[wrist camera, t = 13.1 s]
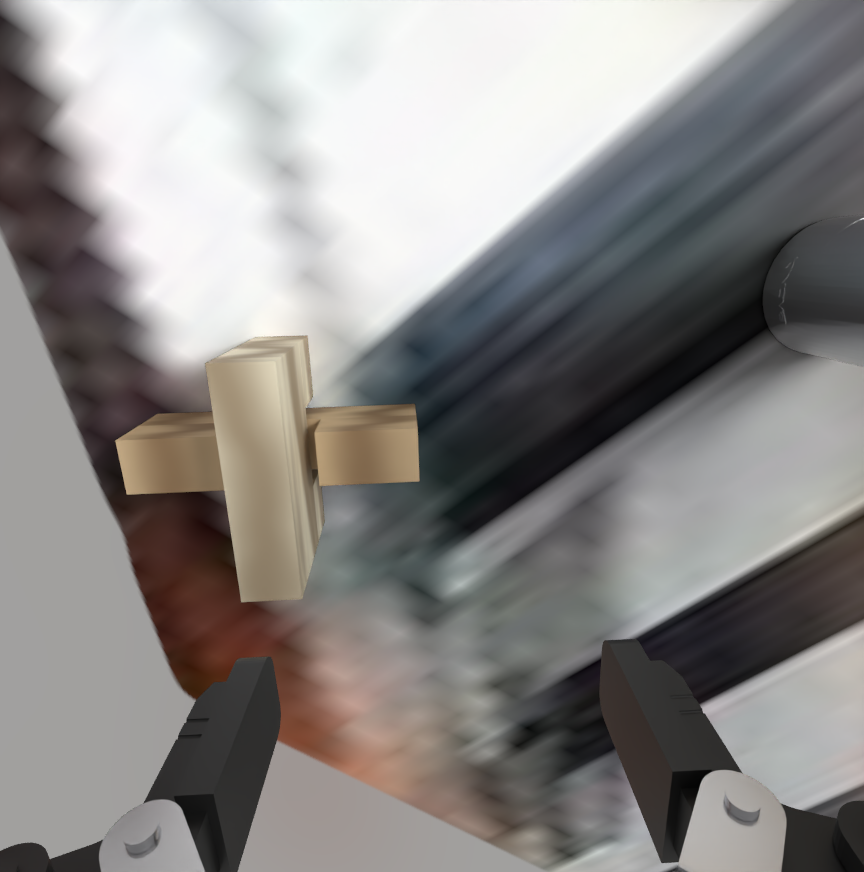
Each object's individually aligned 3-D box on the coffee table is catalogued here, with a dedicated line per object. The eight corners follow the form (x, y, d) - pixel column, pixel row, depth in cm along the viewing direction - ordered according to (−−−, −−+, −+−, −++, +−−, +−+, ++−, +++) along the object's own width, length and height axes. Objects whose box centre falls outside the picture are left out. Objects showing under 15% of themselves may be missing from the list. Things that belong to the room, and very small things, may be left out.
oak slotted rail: (414, 403, 39) (417, 428, 33) (416, 450, 40) (419, 481, 34) (157, 413, 38) (115, 440, 32) (166, 460, 39) (126, 494, 33)
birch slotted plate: (307, 335, 37) (275, 361, 27) (324, 521, 41) (302, 598, 32) (255, 337, 37) (205, 363, 27) (277, 523, 41) (241, 602, 32)
